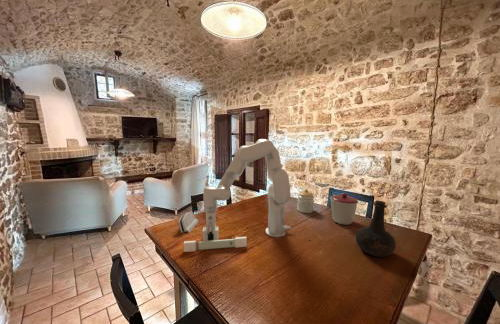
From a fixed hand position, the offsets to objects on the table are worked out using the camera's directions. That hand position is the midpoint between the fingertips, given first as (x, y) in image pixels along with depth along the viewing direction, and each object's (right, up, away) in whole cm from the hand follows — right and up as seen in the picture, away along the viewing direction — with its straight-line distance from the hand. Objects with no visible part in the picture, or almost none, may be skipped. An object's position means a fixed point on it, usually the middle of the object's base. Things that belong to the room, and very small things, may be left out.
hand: (210, 237), depth 119 cm
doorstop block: (0, -1, 0) cm, 1 cm away
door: (+5, -2, -10) cm, 12 cm away
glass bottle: (+89, -4, -11) cm, 90 cm away
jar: (+68, +5, +45) cm, 82 cm away
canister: (+89, +2, +25) cm, 92 cm away
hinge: (-18, +1, +15) cm, 23 cm away
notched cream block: (+5, -2, -10) cm, 11 cm away
